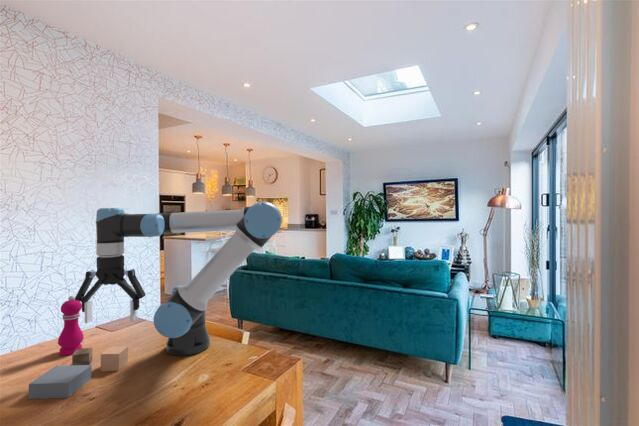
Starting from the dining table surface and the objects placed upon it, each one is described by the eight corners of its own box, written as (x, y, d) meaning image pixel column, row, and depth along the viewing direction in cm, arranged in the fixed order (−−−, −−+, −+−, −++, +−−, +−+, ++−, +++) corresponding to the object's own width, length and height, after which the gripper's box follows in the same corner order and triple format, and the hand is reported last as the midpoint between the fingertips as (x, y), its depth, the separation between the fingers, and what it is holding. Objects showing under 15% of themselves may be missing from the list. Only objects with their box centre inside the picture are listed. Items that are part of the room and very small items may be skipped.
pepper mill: (55, 357, 109) (56, 299, 109) (60, 349, 115) (61, 294, 115) (81, 353, 112) (82, 297, 112) (85, 346, 118) (86, 292, 118)
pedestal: (91, 378, 96) (91, 364, 96) (68, 397, 86) (68, 382, 86) (55, 379, 95) (56, 365, 95) (28, 398, 85) (28, 383, 85)
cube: (127, 362, 107) (127, 346, 106) (118, 371, 101) (119, 353, 101) (110, 363, 106) (110, 346, 106) (100, 371, 101) (100, 354, 100)
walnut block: (92, 360, 107) (92, 347, 107) (89, 366, 103) (89, 352, 103) (75, 363, 106) (76, 349, 106) (72, 369, 101) (72, 355, 101)
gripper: (155, 253, 108) (156, 315, 109) (76, 254, 105) (76, 318, 106) (146, 256, 101) (147, 323, 101) (60, 258, 98) (61, 326, 98)
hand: (111, 320), depth 103 cm, fingers open, 13 cm apart
